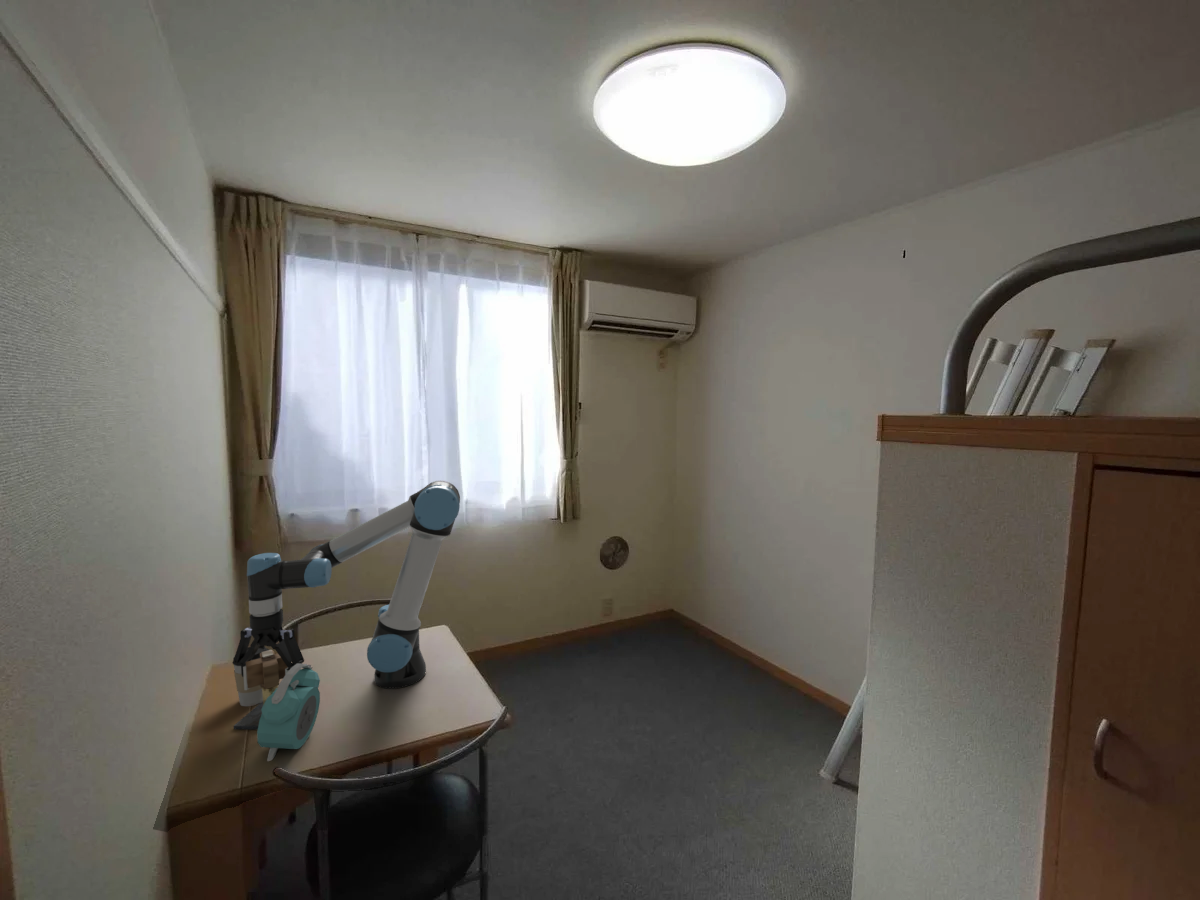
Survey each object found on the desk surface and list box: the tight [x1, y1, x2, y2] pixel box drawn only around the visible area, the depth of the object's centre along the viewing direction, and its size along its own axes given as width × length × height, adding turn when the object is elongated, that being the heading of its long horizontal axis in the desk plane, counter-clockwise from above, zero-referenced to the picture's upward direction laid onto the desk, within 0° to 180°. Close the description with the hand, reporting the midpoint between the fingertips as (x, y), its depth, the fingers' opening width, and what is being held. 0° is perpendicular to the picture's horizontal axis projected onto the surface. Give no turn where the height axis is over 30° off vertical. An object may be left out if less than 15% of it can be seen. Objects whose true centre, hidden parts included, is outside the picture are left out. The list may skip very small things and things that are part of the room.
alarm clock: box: [256, 663, 321, 762], centre depth 124 cm, size 17×10×20 cm, turn 5°
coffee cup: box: [232, 646, 270, 707], centre depth 143 cm, size 9×9×15 cm
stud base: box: [232, 685, 279, 731], centre depth 136 cm, size 12×12×9 cm
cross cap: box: [246, 649, 288, 689], centre depth 135 cm, size 10×10×7 cm
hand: (270, 688), depth 136 cm, fingers open, 11 cm apart
